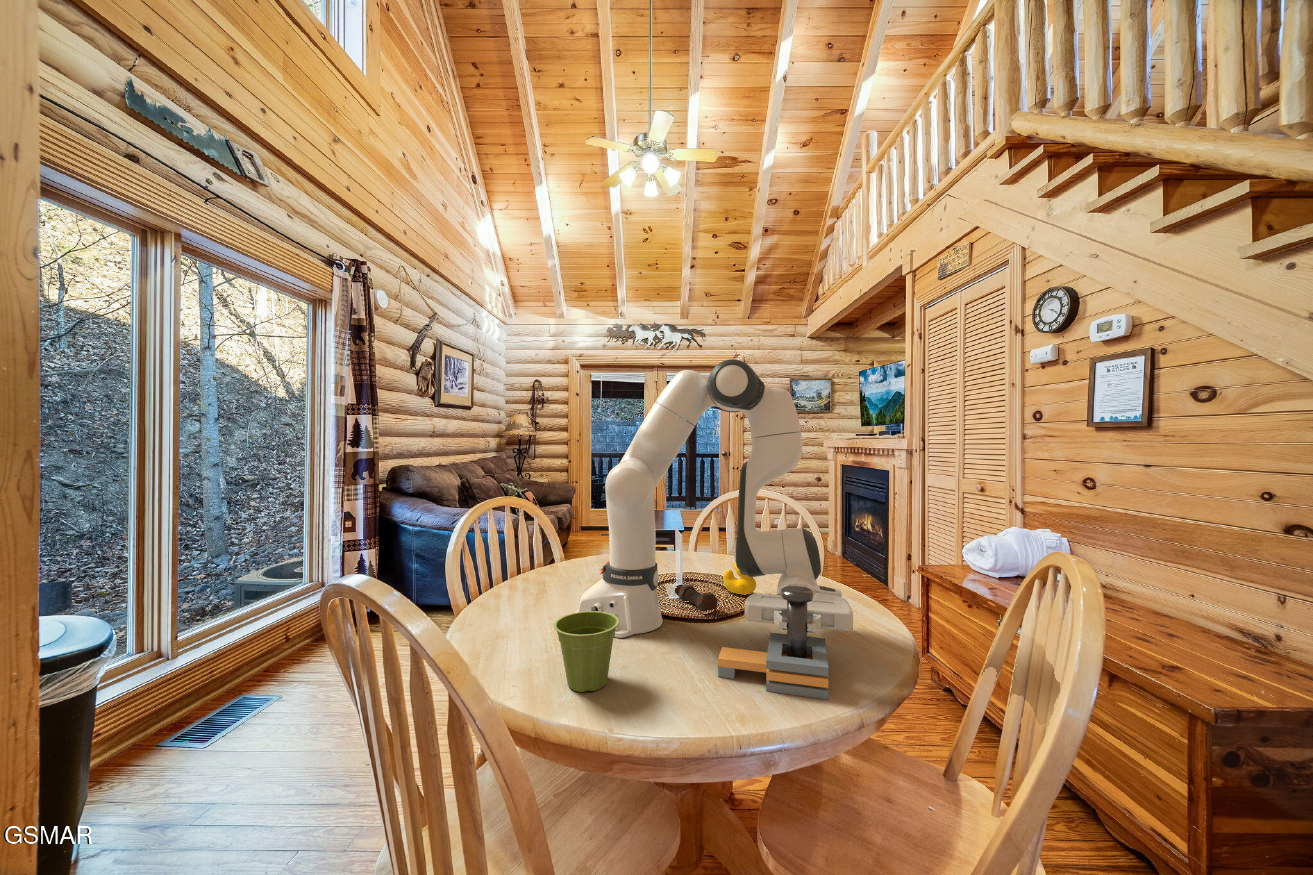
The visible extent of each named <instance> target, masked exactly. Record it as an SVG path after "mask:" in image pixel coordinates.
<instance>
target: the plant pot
mask: <svg viewBox="0 0 1313 875" xmlns="http://www.w3.org/2000/svg"><path fill="white" fill-rule="evenodd" d="M618 624H619V619H618V618H617V617H616V616H615V615H613V614H610V613H607V612H600V611H583V612H576V613H574V612H572V613H569V614H566V615H563V616H561V617H559V618H557V619H556V620H555V621H554V623H553V628H554V630H555V631H556V632H557V637H558V641H559V643H560V649H561V653H562V654H561V656H562V660H563V665H564V671H565V677H566V682H567V687H568V688H569V689H570V690H573V691H576V692H580V693H584V692H587V691H590V692H594V691H598V690H601V689H602V688H604V687H605V686H606V684H607V683H608V680H609V679H608V678H609V671H610V670H609V669H610V664H611V658H612V657H611V656H612V649H613V641H614V639H615V637H614V636H615V630H616V627H617V626H618Z"/></svg>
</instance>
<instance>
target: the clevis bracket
mask: <svg viewBox="0 0 1313 875" xmlns="http://www.w3.org/2000/svg"><path fill="white" fill-rule="evenodd" d="M738 670H743V671H751V672H759V673H766V675H765V676H766V678H765V680H766V682H765V683H766V685H765V688H766V689H765V690H766V692H771V693H777V694H784V695H785V694H786V695H791V696H800V697H808V698H813V699H820V700H821V699H822V700H827V701H828V700H829V659H828V651H827V642H826V638H824V637H814V636H808V635H807V659H804V658H796V657H787V633H778V632H770V633H769V640H768V646H767V651H758V650H749V649H742V648H732V647H724V646H722V647H721V650H720V652H719V655H718V658H717V675H718V676H717V677H718V678H723V679H731V680H734V679H735V678H736V674H737V671H738Z"/></svg>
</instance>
